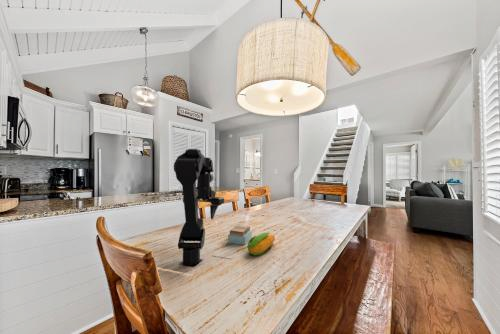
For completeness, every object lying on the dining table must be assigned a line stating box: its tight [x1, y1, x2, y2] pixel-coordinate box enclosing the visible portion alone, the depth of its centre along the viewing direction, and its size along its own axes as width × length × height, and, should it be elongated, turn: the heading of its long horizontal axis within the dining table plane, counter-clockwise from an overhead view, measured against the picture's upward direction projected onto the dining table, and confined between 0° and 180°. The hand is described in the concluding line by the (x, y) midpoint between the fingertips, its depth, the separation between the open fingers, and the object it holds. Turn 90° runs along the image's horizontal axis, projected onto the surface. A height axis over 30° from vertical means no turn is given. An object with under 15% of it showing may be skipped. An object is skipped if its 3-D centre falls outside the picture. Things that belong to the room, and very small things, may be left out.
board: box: [229, 224, 251, 236], centre depth 99 cm, size 10×6×2 cm, turn 162°
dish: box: [227, 229, 253, 246], centre depth 99 cm, size 10×9×4 cm
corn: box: [246, 232, 276, 257], centre depth 89 cm, size 7×8×20 cm
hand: (203, 218), depth 95 cm, fingers open, 9 cm apart
